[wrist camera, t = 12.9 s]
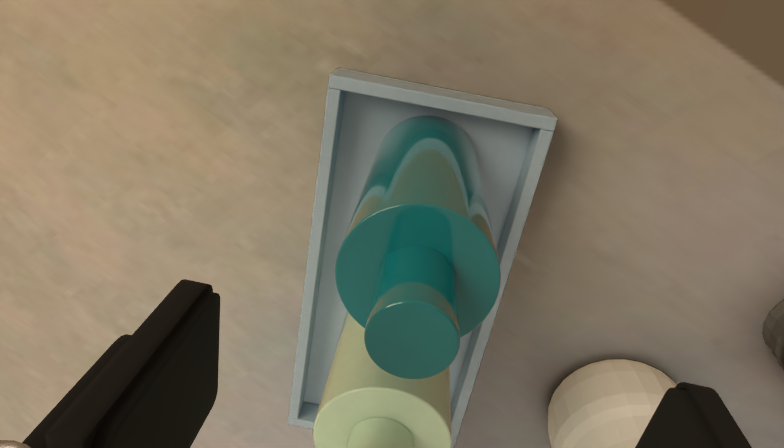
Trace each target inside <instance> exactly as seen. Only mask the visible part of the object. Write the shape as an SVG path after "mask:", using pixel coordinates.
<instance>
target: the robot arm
mask: <svg viewBox="0 0 784 448" xmlns="http://www.w3.org/2000/svg"><path fill="white" fill-rule="evenodd" d="M219 320H220V296H219V294H218V293H213V289H212V286H211V285H209V284H205V283H200V282H195V281H190V280H185V279H184V280H181V281H180V282H179V283H178V284H177V285H176V286H175V287H174V288H173V290H172V291H171V292H170V293H169V294H168V295H167V296H166V297H165V299H164V300H163V301H162V302H161V303H160V304H159V305H158V307H157V308H156V309H155V310H154V311H153V312H152V313H151V314H150V316H149V317H148V318H147V319H146V320H145V321H144V322H143V323H142V325H141V326H140V327H139V328H138V329H137V330H136V331H135V333H134V334H133V335H127V334H126V335H123V336H121V337H120V338H118V339H117V340H116V341H115V342H114V343H113V344H112V345H111V346H110V347H109V349H108V350H107V351H106V352H105V353H104V354H103V355H102V356H101V357H100V358H99V359H98V361H97V362H96V363H95V364H94V365H93V366H92V367H91V368H90V369H89V370H88V371H87V373H86V374H85V375H84V376H83V377H82V378H81V379H80V380H79V381H78V382H77V383H76V385H75V386H74V387H73V388H72V389H71V390H70V391H69V392H68V393H67V394H66V395H65V397H64V398H63V399H62V400H61V401H60V402H59V403H58V404H57V405H56V406H55V407H54V409H53V410H52V411H51V412H50V413H49V414H48V415H47V416H46V417H45V418H44V419H43V421H42V422H41V423H40V424H39V425H38V426H37V427H36V428H35V429H34V430H33V431H32V433H31V434H30V435H29V436H28V437H27V438H26V439H25V440H24V441H23V442H22V443H20V442H17V441H7V440H0V448H190V447H191V445H192V443H193V441H194V439H195V438H196V436H197V434H198V432H199V430H200V428H201V427H202V425H203V423H204V421H205V419H206V418H207V416H208V414H209V412H210V410H211V409H212V407H213V404H214V402H215V399H216V395H217V389H218V356H219ZM635 448H752V447H751V446H750V444H749V443H748V441H747V439H746V438H745V436H744V435H743V433H742V431H741V430H740V428H739V427H738V425H737V424H736V422H735V420H734V419H733V417H732V416H731V414H730V413H729V411H728V409H727V408H726V406H725V405H724V403H723V401H722V400H721V398H720V397H719V395H718V394H717V392H716V391H715V390H714V389H712V388H709V387H704V386H699V385H694V384H689V383H685V382H683V383H679V384H677V385H676V387H675V388H669V389H668V390H667V391H666V392H665V394H664V396H663V398H662V400H661V402H660V403H659V405H658V407H657V409H656V411H655V412H654V414H653V416H652V418H651V420H650V421H649V423H648V425H647V427H646V429H645V431H644V432H643V434H642V436H641V438H640V440H639V441H638V443H637V445H636V447H635Z"/></svg>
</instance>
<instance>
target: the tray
mask: <svg viewBox="0 0 784 448" xmlns="http://www.w3.org/2000/svg"><path fill="white" fill-rule="evenodd" d="M328 87H329V88H328V91H327V99H326V107H325V116H324V124H323V132H322V141H321V149H320V158H319V166H318V174H317V183H316V191H315V199H314V208H313V216H312V224H311V233H310V241H309V249H308V258H307V266H306V275H305V283H304V291H303V300H302V308H301V316H300V325H299V333H298V341H297V350H296V358H295V366H294V375H293V383H292V392H291V400H290V408H289V417H288V425H293V426H298V427H303V428H308V429H313V426H314V422H315V418H316V415H317V411H318V408H319V404H320V401H321V398H322V394H323V391H324V387H325V384H326V380H327V377H328V373H329V370H330V367H331V363H332V360H333V356H334V353H335V349H336V346H337V342H338V339H339V336H340V332H341V329H342V325H343V322H344V318H345V315H346V311H347V309H346V308H345V306H344V304H343V302H342V301H341V298H340V296H339V293H338V290H337V286H336V279H335V265H336V260H337V255H338V252H339V250H340V247H341V244H342V242H343V239H344V237H345V234H346V231H347V229H348V226H349V224H350V221H351V218H352V216H353V213H354V211H355V208H356V205H357V203H358V200H359V198H360V195H361V192H362V190H363V187H364V185H365V182H366V179H367V177H368V174H369V172H370V169H371V166H372V164H373V161H374V159H375V156H376V153H377V151H378V148H379V146H380V143H381V141H382V140H383V138H384V137H385V135H386V134H387V133H388V132H389V131H390V130H391V129H392V128H393V127H394V126H395V125H397V124H398V123H400V122H402V121H404V120H406V119H408V118H412V117H415V116H422V115H431V116H438V117H442V118H445V119H447V120H450V121H451V122H453V123H455V124H456V125H458V126H459V127H460V128H461V129H462V130H463V131H464V132H465V133H466V134H467V135H468V136H469V138H470V139H471V141H472V143H473V145H474V148H475V150H476V155H477V159H478V164H479V169H480V174H481V178H482V183H483V188H484V193H485V198H486V202H487V207H488V212H489V217H490V221H491V226H492V231H493V236H494V241H495V245H496V250H497V255H498V260H499V264H500V273H501V281H500V289H499V293H498V297H497V299H496V302H495V304H494V306H493V308H492V309H491V311H490V313H489V314H488V315H487V317H486V318H485V319H484V320H483V321H482V322H481V323H480V324H479V325H478V326H477V327H476V328H475V329H473V330H472V331H471V332H469V333H468V334H466V335H464V336H463V337H461V338H460V347H459V351H458V354H457V356H456V358H455V359H454V361H453V362H452V363H451V365H450V395H451V438H452V442H451V448H454V446H455V443H456V439H457V436H458V433H459V430H460V427H461V424H462V420H463V417H464V414H465V411H466V408H467V405H468V402H469V398H470V395H471V392H472V389H473V386H474V383H475V379H476V376H477V373H478V370H479V367H480V364H481V361H482V357H483V354H484V351H485V348H486V345H487V342H488V338H489V335H490V332H491V329H492V326H493V323H494V320H495V316H496V313H497V310H498V307H499V304H500V301H501V297H502V294H503V291H504V288H505V285H506V282H507V279H508V275H509V272H510V269H511V266H512V263H513V260H514V256H515V253H516V250H517V247H518V244H519V241H520V238H521V234H522V231H523V228H524V225H525V222H526V219H527V215H528V212H529V209H530V206H531V203H532V200H533V197H534V193H535V190H536V187H537V184H538V181H539V178H540V174H541V171H542V168H543V165H544V162H545V159H546V156H547V152H548V149H549V146H550V143H551V140H552V137H553V133H554V132H553V131H554V130H555V127H556V124H557V121H558V119H557V118H556V116H555V115H554V114H553V113H552V112H551V111H550V110H549V109H548V108H543V107H538V106H533V105H528V104H523V103H518V102H512V101H507V100H502V99H497V98H492V97H487V96H482V95H477V94H471V93H466V92H461V91H456V90H451V89H446V88H441V87H436V86H430V85H425V84H420V83H415V82H410V81H405V80H400V79H394V78H389V77H384V76H379V75H374V74H369V73H364V72H359V71H353V70H348V69H343V68H337V69H336V70H335V71H334V72H332V73H331V74H330V75H329V82H328Z"/></svg>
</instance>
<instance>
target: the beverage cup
mask: <svg viewBox="0 0 784 448" xmlns="http://www.w3.org/2000/svg"><path fill="white" fill-rule="evenodd" d="M763 336H764V340H765V343H766V344H767V345H768V346H769V347H770V348H771V350H772V352H773V354H774V355H775V357H776V358H777V360H778V363H779V365H780V366H781V367H782V369H783V370H784V300H783V301H781V302H780V303H779V304H778V305H777V306H776V307H775V308H774V309H773V310H772V311H771V312H770V313H769V315H768V316H767V318H766V320H765V322H764V327H763Z"/></svg>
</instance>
